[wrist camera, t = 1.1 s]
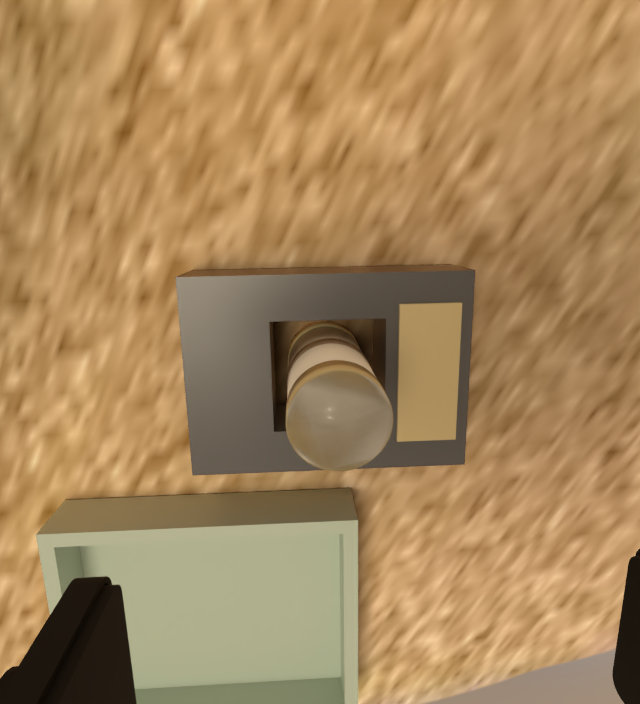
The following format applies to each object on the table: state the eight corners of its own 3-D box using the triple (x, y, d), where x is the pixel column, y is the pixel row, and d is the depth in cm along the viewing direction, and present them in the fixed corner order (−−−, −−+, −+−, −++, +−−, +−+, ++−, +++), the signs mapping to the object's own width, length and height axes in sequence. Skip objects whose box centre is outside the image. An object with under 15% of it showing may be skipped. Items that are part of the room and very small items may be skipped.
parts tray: (350, 487, 31) (358, 520, 27) (351, 675, 34) (358, 725, 31) (65, 499, 30) (36, 534, 27) (94, 691, 33) (72, 743, 30)
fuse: (359, 320, 28) (394, 368, 19) (359, 389, 29) (392, 469, 20) (286, 321, 28) (283, 371, 18) (289, 391, 29) (287, 473, 19)
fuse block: (449, 264, 28) (476, 270, 24) (442, 433, 30) (465, 466, 26) (192, 270, 27) (174, 277, 23) (205, 442, 30) (191, 476, 25)
